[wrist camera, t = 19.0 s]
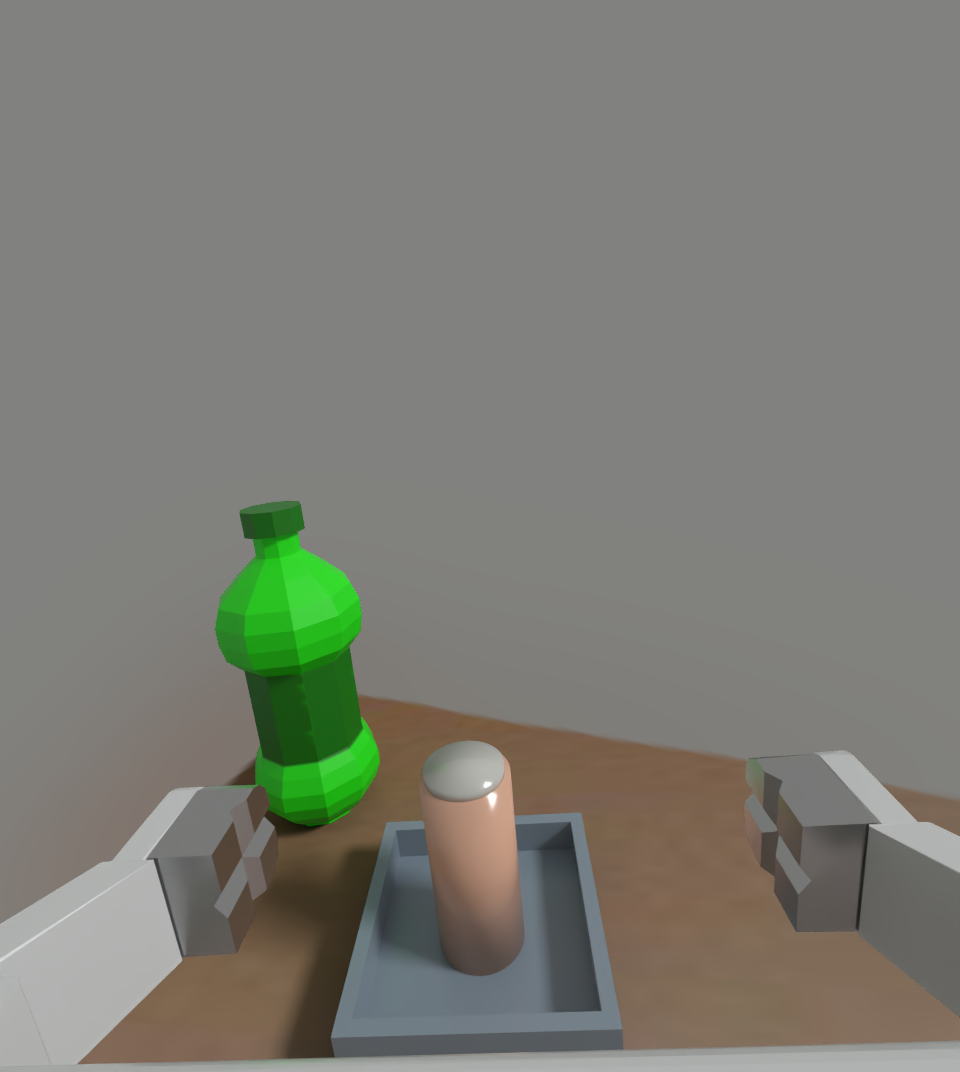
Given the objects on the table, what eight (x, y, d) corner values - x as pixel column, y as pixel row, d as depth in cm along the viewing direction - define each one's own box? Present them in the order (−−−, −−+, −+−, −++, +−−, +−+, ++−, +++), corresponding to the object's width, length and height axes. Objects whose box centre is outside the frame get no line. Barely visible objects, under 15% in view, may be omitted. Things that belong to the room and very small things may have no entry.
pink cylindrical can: (435, 977, 31) (410, 800, 28) (444, 898, 36) (423, 740, 33) (526, 974, 31) (510, 795, 28) (522, 894, 36) (508, 735, 33)
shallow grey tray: (340, 1083, 27) (330, 1037, 27) (392, 857, 40) (386, 822, 40) (624, 1076, 27) (622, 1029, 26) (582, 848, 40) (581, 812, 39)
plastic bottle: (278, 771, 51) (221, 501, 45) (394, 757, 52) (354, 488, 45) (240, 859, 42) (161, 531, 35) (383, 841, 42) (331, 514, 36)
